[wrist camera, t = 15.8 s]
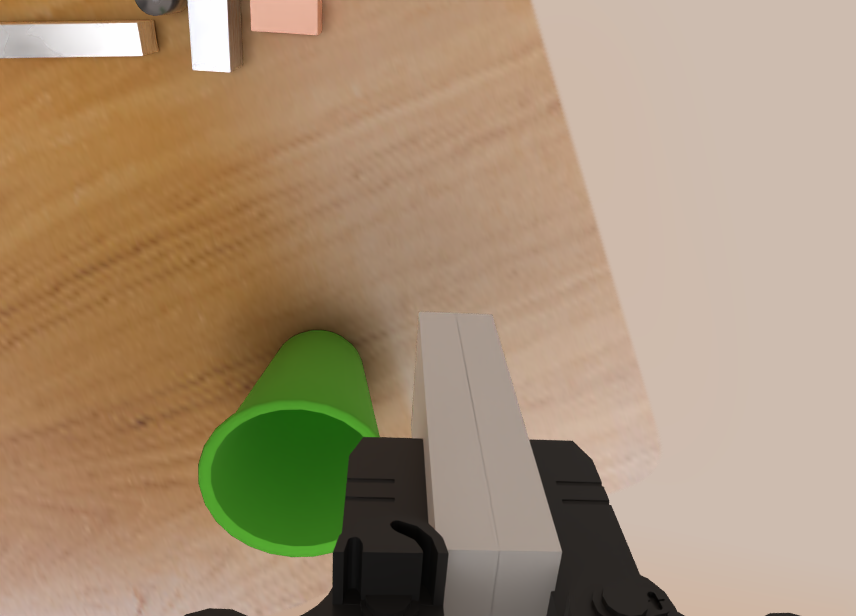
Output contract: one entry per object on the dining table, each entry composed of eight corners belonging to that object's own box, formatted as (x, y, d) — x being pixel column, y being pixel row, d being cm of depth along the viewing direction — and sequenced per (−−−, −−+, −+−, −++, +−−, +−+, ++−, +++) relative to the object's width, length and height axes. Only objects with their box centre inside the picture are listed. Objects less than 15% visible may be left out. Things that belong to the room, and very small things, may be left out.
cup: (279, 272, 40) (241, 370, 30) (421, 336, 42) (429, 448, 32) (220, 394, 43) (168, 519, 33) (355, 448, 45) (344, 581, 35)
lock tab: (259, 27, 34) (251, 30, 32) (257, -27, 33) (248, -28, 31) (321, 32, 34) (317, 35, 32) (322, -23, 33) (317, -23, 31)
